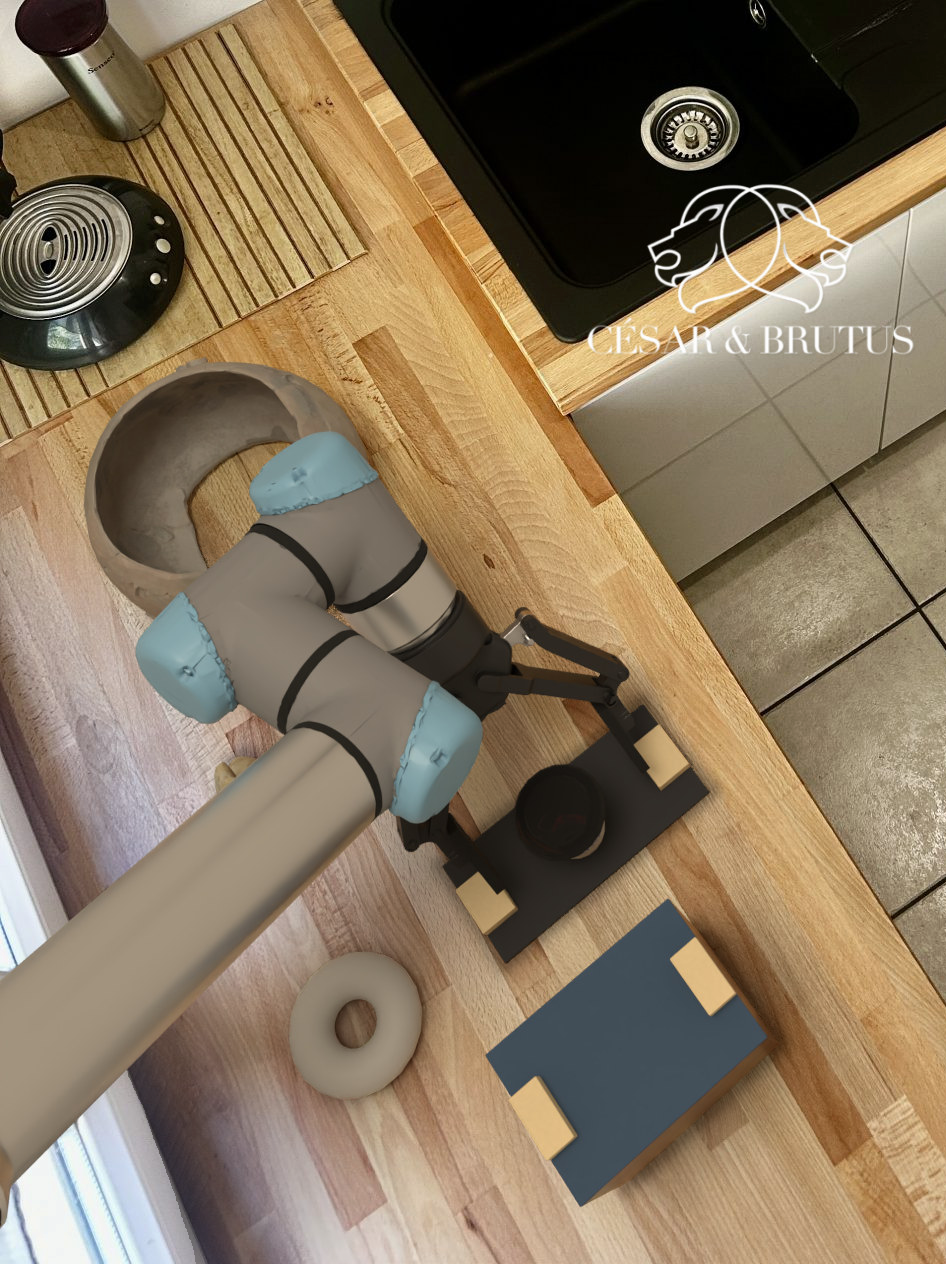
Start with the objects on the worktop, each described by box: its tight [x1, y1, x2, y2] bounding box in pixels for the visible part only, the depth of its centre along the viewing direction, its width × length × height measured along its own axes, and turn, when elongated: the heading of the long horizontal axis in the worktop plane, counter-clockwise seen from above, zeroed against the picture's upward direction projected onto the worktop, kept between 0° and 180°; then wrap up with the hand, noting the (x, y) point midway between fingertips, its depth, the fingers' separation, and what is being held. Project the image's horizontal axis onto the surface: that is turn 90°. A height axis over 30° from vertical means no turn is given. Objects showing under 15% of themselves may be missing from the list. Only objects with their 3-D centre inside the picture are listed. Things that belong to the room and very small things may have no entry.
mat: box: [442, 703, 710, 964], centre depth 118 cm, size 20×9×2 cm, turn 129°
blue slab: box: [485, 898, 767, 1208], centre depth 89 cm, size 14×10×2 cm
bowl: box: [83, 356, 370, 621], centre depth 126 cm, size 23×23×15 cm
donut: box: [288, 950, 423, 1101], centre depth 112 cm, size 10×4×10 cm
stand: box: [582, 902, 780, 1207], centre depth 101 cm, size 14×10×24 cm
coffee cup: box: [513, 763, 605, 861], centre depth 114 cm, size 7×7×10 cm
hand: (570, 822), depth 114 cm, fingers open, 13 cm apart
